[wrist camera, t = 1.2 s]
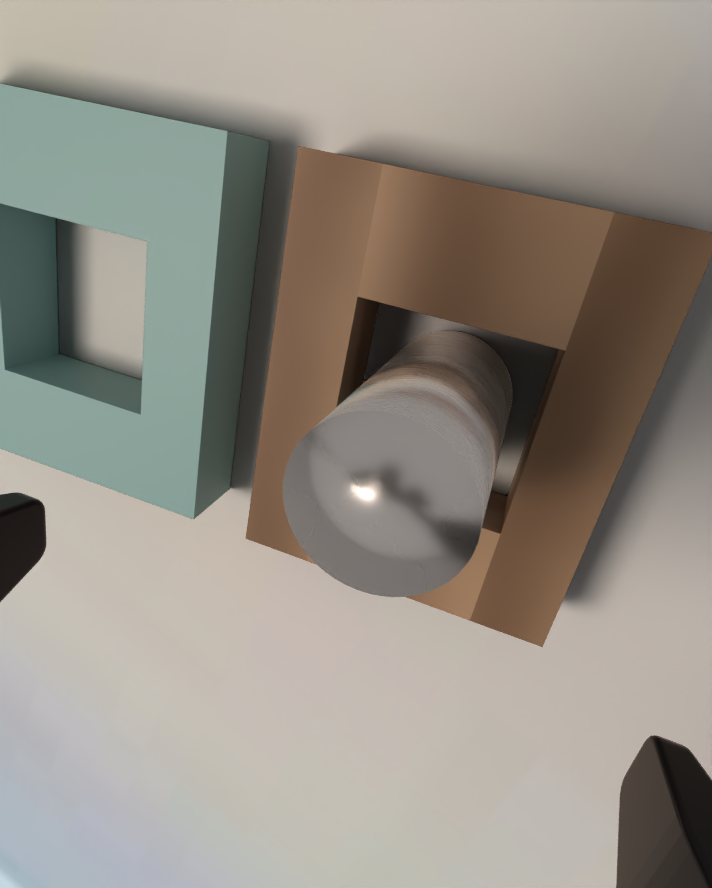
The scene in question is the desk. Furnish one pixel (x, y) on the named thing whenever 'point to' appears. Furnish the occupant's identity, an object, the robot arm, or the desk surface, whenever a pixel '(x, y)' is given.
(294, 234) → the socket block
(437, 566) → the steel peg
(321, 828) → the desk surface
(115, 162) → the block
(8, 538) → the robot arm
